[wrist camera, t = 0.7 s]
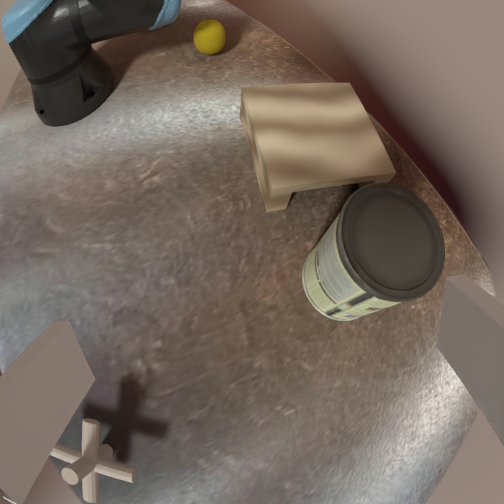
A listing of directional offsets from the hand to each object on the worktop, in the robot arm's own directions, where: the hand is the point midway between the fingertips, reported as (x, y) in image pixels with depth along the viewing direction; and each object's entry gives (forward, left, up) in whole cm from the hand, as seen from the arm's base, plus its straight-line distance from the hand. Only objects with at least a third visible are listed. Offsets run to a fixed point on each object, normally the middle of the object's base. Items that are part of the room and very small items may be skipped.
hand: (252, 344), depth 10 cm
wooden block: (-23, +15, -25) cm, 37 cm away
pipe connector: (+10, -18, -26) cm, 33 cm away
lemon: (-48, +5, -26) cm, 55 cm away
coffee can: (-5, +14, -26) cm, 30 cm away
